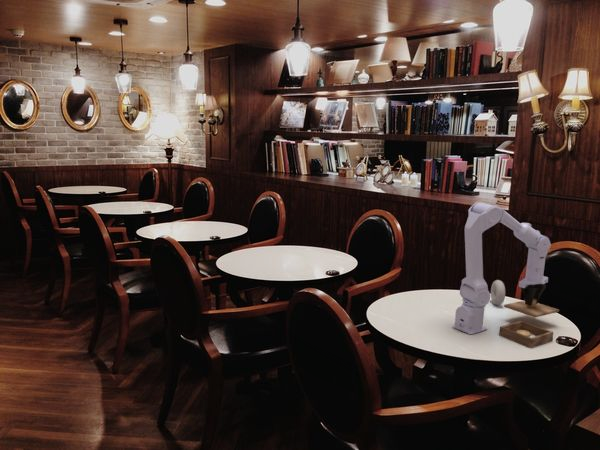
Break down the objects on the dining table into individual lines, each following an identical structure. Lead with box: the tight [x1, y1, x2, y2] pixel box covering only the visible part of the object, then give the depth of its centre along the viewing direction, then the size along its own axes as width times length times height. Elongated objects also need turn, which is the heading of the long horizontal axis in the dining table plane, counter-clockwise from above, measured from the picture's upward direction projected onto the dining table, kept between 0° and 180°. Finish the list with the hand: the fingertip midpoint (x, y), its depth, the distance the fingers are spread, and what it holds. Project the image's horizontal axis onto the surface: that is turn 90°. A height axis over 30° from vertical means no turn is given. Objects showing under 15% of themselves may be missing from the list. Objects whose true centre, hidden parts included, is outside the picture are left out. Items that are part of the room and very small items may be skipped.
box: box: [498, 320, 554, 349], centre depth 178 cm, size 12×12×3 cm
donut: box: [490, 279, 506, 306], centre depth 211 cm, size 10×4×10 cm, turn 177°
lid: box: [503, 298, 560, 318], centre depth 191 cm, size 13×13×4 cm
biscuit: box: [516, 330, 531, 337], centre depth 182 cm, size 4×4×1 cm
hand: (531, 303), depth 192 cm, fingers closed on lid, 3 cm apart
